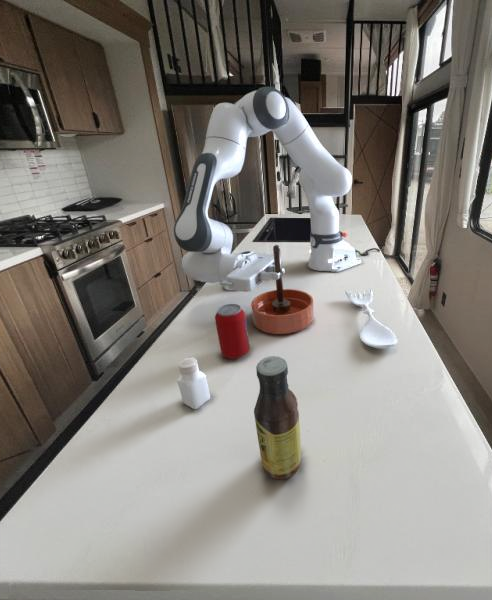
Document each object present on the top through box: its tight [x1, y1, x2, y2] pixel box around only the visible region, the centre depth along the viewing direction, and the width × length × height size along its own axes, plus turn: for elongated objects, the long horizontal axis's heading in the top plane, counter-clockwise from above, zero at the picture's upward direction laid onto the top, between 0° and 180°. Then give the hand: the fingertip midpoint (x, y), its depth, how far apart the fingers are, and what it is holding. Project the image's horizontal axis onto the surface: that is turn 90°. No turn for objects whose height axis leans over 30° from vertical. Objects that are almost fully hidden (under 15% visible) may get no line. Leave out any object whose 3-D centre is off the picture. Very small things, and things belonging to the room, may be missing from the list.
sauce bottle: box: [253, 355, 302, 480], centre depth 47 cm, size 6×6×20 cm
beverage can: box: [214, 303, 250, 359], centre depth 76 cm, size 7×7×12 cm
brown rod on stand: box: [272, 244, 290, 313], centre depth 89 cm, size 5×5×19 cm
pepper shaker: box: [177, 356, 211, 410], centre depth 62 cm, size 4×4×10 cm
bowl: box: [250, 288, 315, 335], centre depth 92 cm, size 17×17×6 cm
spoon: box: [345, 288, 398, 349], centre depth 91 cm, size 9×32×4 cm, turn 5°
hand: (281, 273), depth 88 cm, fingers closed on brown rod on stand
